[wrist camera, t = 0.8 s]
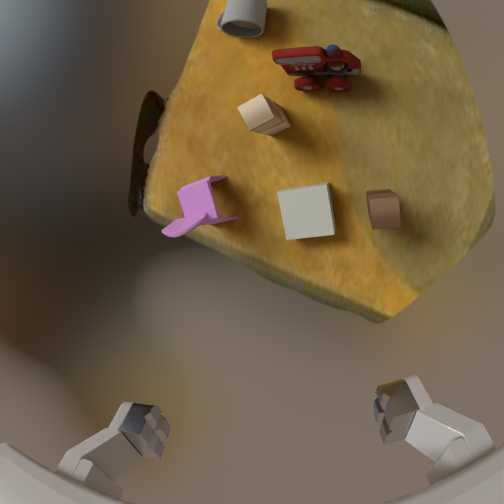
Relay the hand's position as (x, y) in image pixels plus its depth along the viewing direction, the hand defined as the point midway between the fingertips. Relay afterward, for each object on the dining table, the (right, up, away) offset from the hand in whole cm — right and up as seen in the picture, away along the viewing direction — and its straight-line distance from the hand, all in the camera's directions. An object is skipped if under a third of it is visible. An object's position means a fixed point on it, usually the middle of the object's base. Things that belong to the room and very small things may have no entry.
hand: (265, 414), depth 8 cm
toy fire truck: (+12, +35, +28) cm, 47 cm away
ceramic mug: (-2, +49, +29) cm, 57 cm away
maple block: (+4, +28, +34) cm, 44 cm away
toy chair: (-7, +16, +43) cm, 46 cm away
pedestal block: (+9, +13, +37) cm, 41 cm away
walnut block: (+20, +14, +32) cm, 40 cm away
